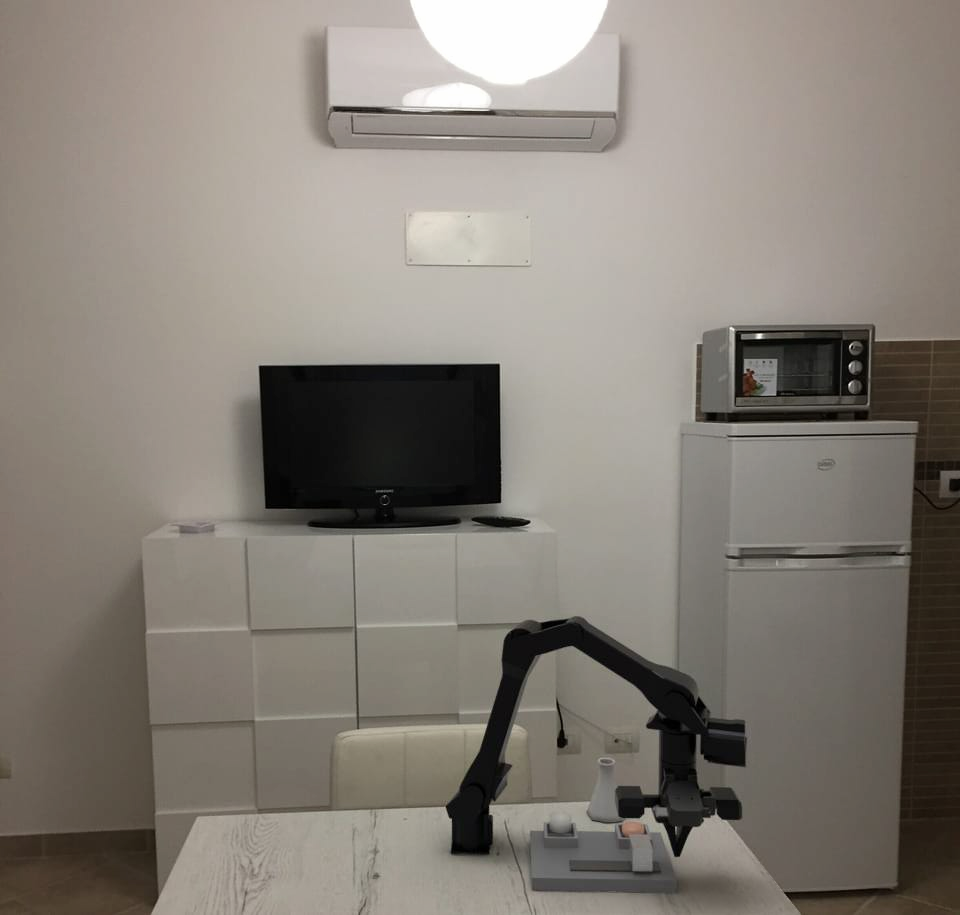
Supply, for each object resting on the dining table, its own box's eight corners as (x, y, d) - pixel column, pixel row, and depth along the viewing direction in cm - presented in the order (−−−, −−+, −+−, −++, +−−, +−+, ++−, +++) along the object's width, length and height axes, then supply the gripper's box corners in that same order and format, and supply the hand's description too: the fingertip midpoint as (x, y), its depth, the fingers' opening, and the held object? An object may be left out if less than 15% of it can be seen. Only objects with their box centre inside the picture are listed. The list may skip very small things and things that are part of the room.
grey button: (550, 832, 143) (550, 821, 143) (549, 822, 147) (549, 810, 147) (572, 833, 143) (572, 821, 143) (570, 822, 147) (570, 811, 146)
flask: (625, 806, 161) (625, 753, 161) (628, 825, 154) (628, 769, 154) (585, 805, 162) (585, 752, 162) (586, 823, 155) (586, 768, 154)
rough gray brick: (632, 871, 134) (632, 848, 134) (628, 856, 138) (629, 834, 138) (652, 871, 134) (652, 848, 133) (648, 856, 138) (648, 834, 138)
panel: (531, 890, 133) (531, 867, 133) (530, 841, 148) (530, 821, 148) (676, 893, 132) (676, 869, 132) (660, 843, 147) (660, 823, 147)
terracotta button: (623, 843, 143) (623, 831, 143) (620, 832, 146) (620, 821, 146) (645, 843, 143) (645, 832, 142) (642, 833, 146) (642, 821, 146)
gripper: (623, 779, 127) (622, 882, 128) (752, 780, 126) (751, 885, 127) (614, 749, 138) (614, 845, 139) (733, 750, 137) (732, 847, 138)
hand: (676, 855), depth 136 cm, fingers closed
